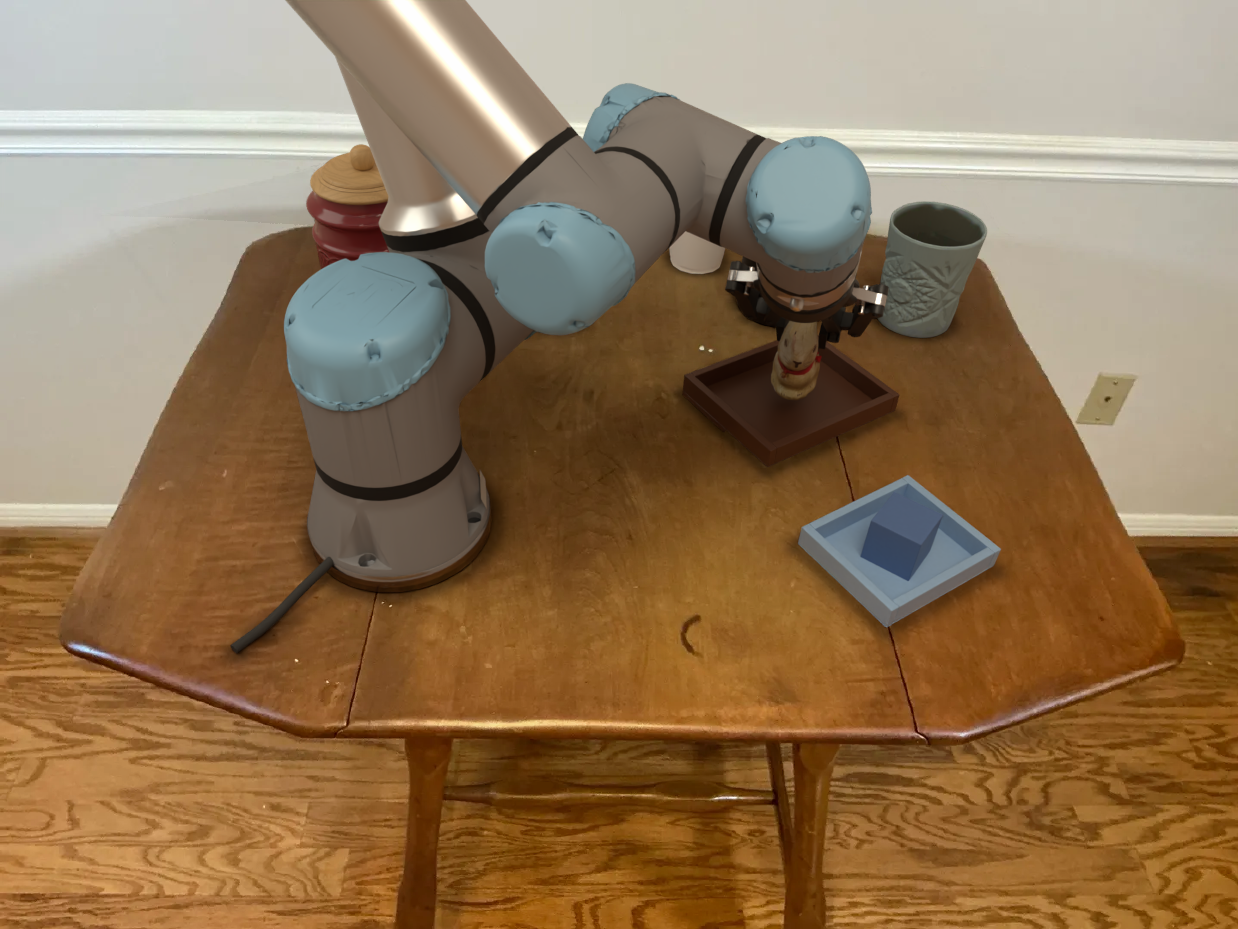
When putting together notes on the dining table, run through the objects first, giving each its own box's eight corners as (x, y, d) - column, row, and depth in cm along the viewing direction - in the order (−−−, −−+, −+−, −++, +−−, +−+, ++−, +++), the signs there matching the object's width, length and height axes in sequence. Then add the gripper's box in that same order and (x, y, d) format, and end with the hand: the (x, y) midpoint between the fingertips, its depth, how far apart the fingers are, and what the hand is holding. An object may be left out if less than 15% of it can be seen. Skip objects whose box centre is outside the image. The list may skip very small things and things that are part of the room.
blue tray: (884, 632, 75) (891, 611, 73) (796, 547, 81) (801, 526, 79) (992, 570, 80) (1001, 549, 78) (901, 495, 86) (908, 474, 85)
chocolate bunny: (747, 385, 93) (760, 297, 86) (792, 352, 97) (808, 265, 91) (795, 409, 90) (811, 320, 83) (838, 374, 95) (858, 286, 88)
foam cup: (651, 244, 120) (657, 144, 111) (722, 239, 121) (733, 141, 112) (667, 283, 113) (675, 180, 104) (742, 278, 114) (755, 175, 106)
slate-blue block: (908, 581, 78) (921, 545, 75) (860, 557, 80) (870, 520, 77) (930, 551, 81) (943, 514, 78) (882, 527, 82) (894, 491, 80)
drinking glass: (945, 296, 112) (974, 202, 104) (967, 345, 105) (999, 248, 97) (860, 293, 112) (882, 199, 104) (876, 341, 105) (901, 244, 97)
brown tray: (766, 471, 88) (770, 450, 87) (682, 394, 97) (683, 374, 95) (894, 414, 95) (900, 394, 94) (805, 347, 104) (808, 327, 102)
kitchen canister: (304, 289, 109) (271, 141, 98) (400, 253, 116) (381, 110, 104) (363, 338, 102) (336, 185, 91) (462, 297, 109) (448, 150, 97)
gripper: (690, 293, 73) (715, 353, 96) (907, 331, 70) (879, 383, 93) (711, 200, 73) (730, 281, 96) (928, 233, 70) (894, 309, 93)
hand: (803, 331), depth 94 cm, fingers closed on chocolate bunny, 3 cm apart
